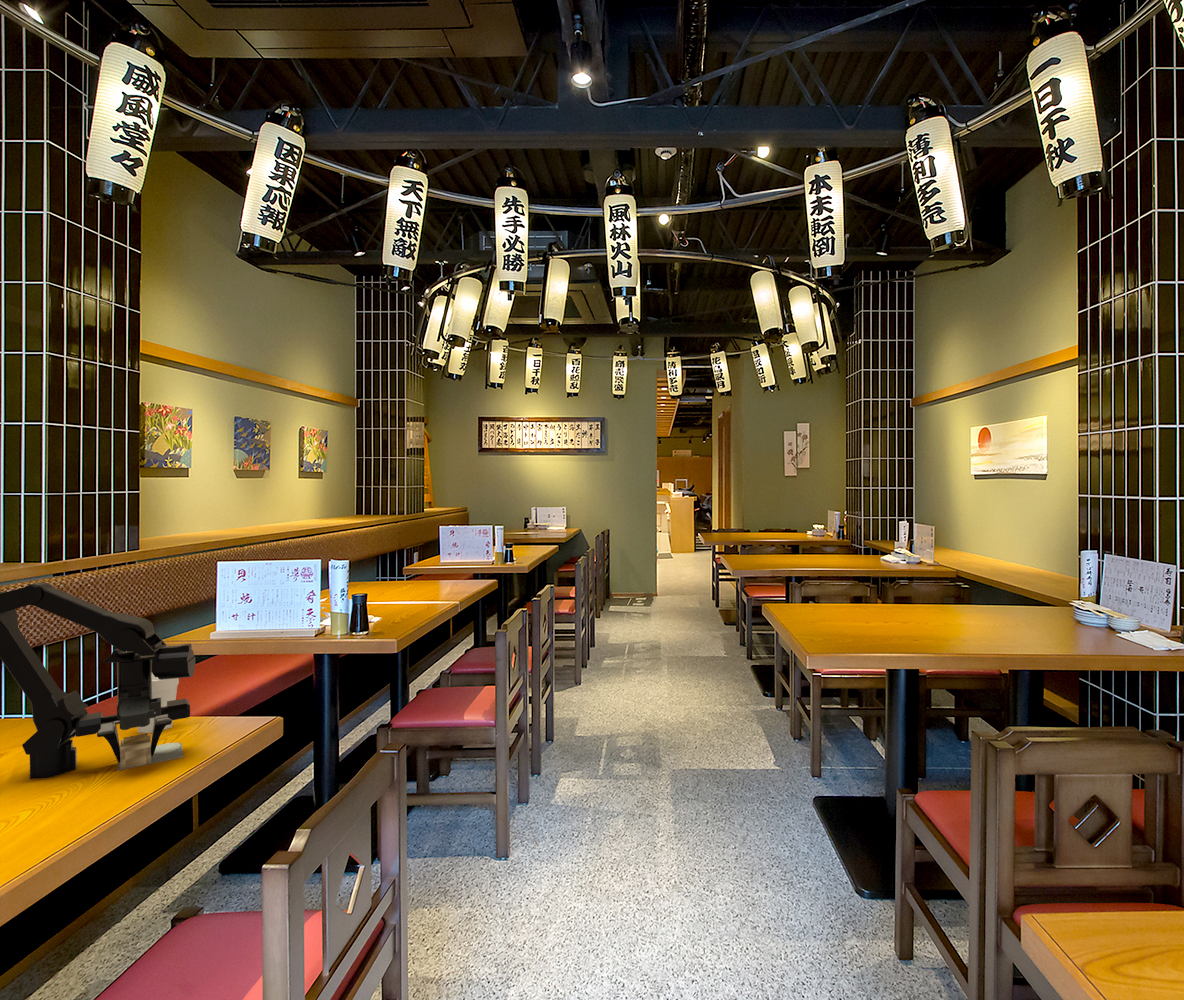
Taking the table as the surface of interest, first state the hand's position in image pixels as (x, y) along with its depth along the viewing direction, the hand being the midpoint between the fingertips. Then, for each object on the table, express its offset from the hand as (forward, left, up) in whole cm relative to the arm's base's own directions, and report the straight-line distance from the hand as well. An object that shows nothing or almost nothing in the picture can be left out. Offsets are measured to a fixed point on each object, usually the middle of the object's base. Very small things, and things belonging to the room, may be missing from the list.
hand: (135, 758), depth 131 cm
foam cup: (+4, +22, -2) cm, 22 cm away
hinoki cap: (0, 0, -1) cm, 1 cm away
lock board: (+3, +2, -2) cm, 4 cm away
